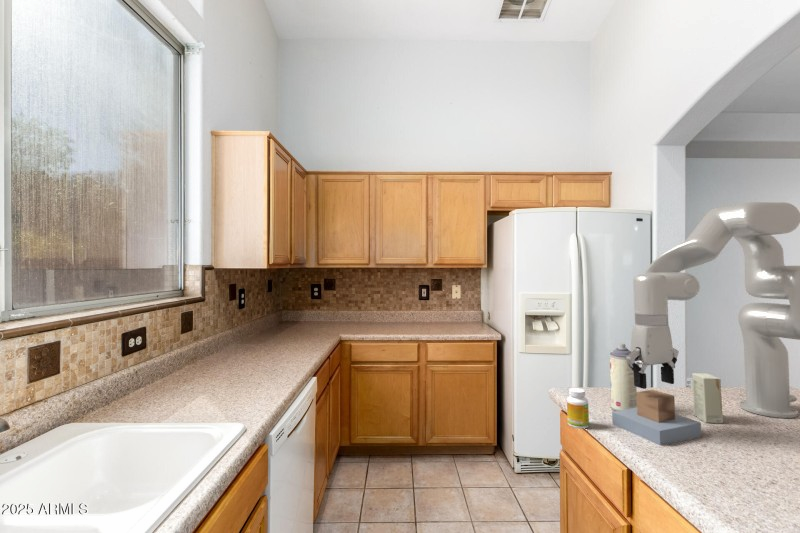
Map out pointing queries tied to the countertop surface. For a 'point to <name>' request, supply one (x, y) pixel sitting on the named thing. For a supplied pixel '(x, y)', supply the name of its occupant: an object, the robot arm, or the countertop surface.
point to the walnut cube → (656, 405)
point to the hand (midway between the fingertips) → (654, 384)
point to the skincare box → (707, 397)
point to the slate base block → (657, 427)
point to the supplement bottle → (577, 409)
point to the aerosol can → (622, 380)
